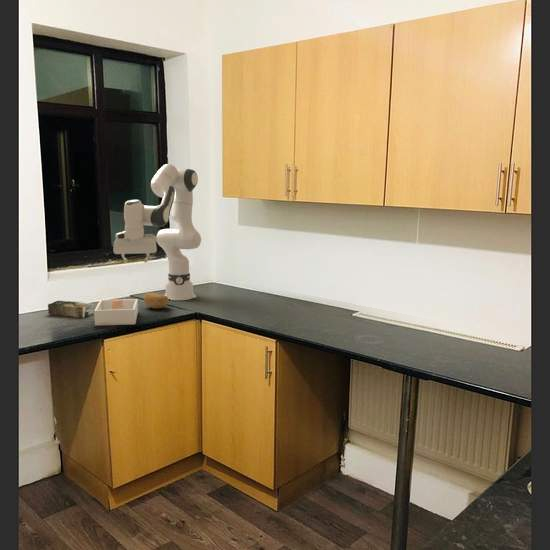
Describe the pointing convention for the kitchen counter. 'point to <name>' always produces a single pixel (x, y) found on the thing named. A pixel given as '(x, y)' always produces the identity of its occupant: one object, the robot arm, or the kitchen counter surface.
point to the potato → (155, 300)
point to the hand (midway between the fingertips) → (135, 262)
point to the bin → (116, 313)
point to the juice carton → (70, 308)
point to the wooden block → (117, 304)
